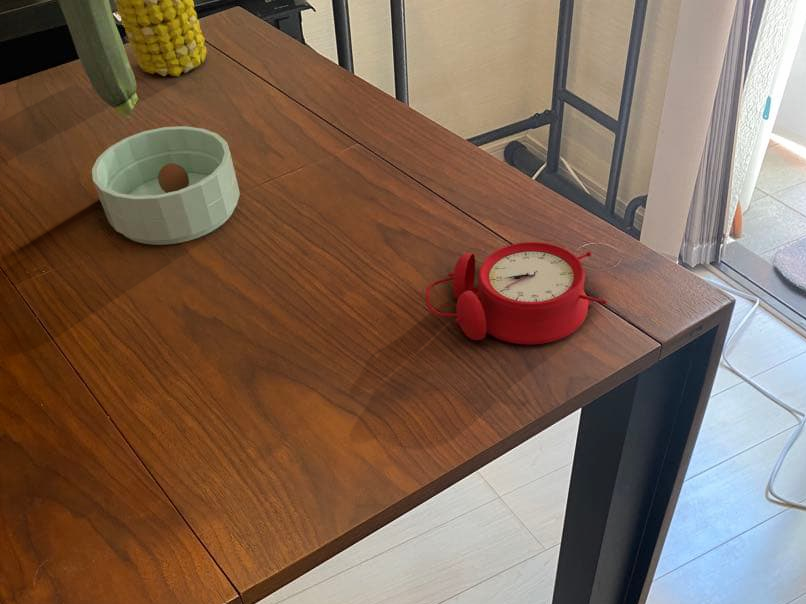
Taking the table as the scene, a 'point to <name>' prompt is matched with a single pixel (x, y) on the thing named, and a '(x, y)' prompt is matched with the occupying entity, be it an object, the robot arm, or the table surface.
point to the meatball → (173, 178)
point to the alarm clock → (520, 294)
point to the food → (163, 34)
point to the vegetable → (101, 52)
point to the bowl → (144, 198)
